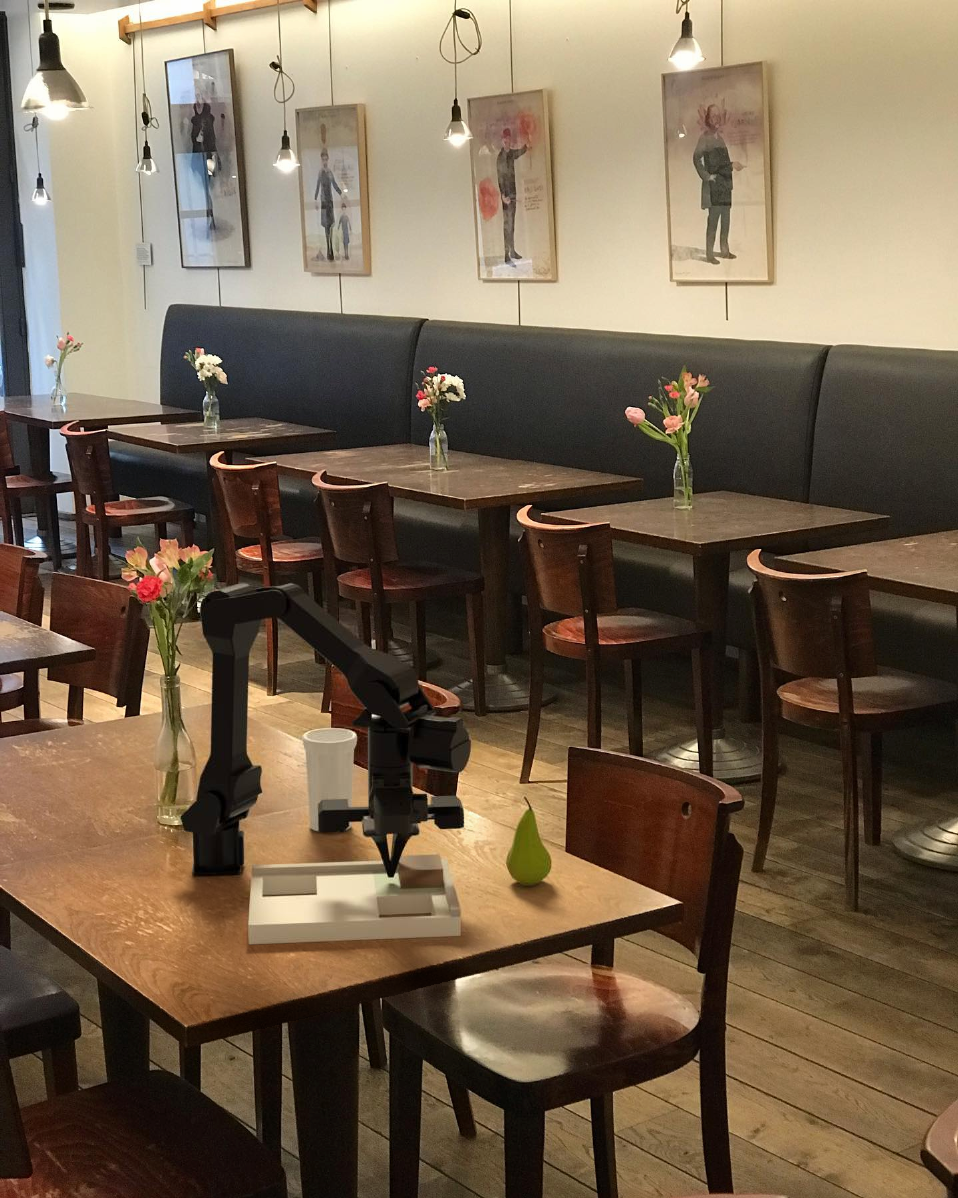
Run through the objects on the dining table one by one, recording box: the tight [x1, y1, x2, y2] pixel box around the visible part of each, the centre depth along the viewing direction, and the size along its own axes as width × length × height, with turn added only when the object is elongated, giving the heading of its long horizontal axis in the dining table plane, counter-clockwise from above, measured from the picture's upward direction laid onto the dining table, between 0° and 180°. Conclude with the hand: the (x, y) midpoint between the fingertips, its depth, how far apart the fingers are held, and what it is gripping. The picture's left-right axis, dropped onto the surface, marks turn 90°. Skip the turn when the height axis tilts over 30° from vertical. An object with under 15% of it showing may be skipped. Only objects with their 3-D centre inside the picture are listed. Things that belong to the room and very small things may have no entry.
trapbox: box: [247, 857, 462, 945], centre depth 205 cm, size 26×18×4 cm
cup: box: [301, 727, 358, 832], centre depth 236 cm, size 8×8×14 cm
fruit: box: [505, 796, 553, 887], centre depth 215 cm, size 6×6×12 cm
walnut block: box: [398, 853, 443, 889], centre depth 209 cm, size 6×6×2 cm
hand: (390, 876), depth 209 cm, fingers closed
